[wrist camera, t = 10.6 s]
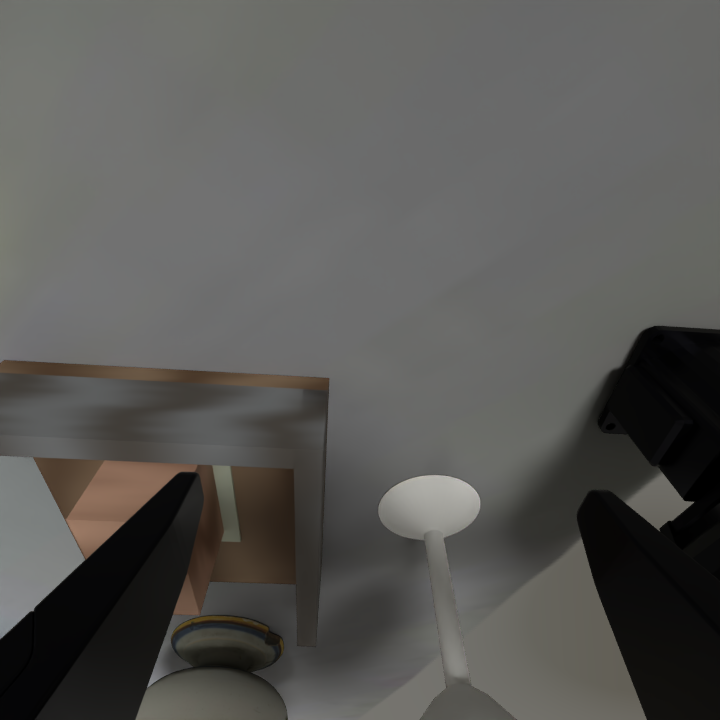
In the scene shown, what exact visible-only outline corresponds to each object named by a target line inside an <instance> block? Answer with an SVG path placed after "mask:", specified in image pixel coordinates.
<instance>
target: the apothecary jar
mask: <svg viewBox="0 0 720 720" xmlns="http://www.w3.org/2000/svg"><path fill="white" fill-rule="evenodd" d="M171 644H172V647H173V649H174V650H175V652H176V653H177V654H178V655H179V656H180V657H181V658H182V659H183V660H185V661H187V662H188V663H189V664H191V665H192V666H193V667H192V668H187V669H183V670H180V671H176V672H173V673H171V674H169V675H166V676H164V677H163V678H161V679H159V680H157V681H156V682H155V683H153V684H152V685H151V686H149V687H148V688H147V689H146V692H145V694H144V697H143V700H142V703H141V706H140V708H139V711H138V714H137V717H136V720H288V718H287V710H286V706H285V704H284V701H283V700H282V698H281V696H280V695H279V693H278V692H277V691H276V689H275V688H274V687H273V686H272V685H271V684H269V683H268V682H267V681H266V680H264V679H262V678H261V677H259V676H257V675H255V674H253V673H250V672H253V671H256V670H260V669H263V668H266V667H268V666H270V665H272V664H273V663H275V662H276V661H277V660H278V659H279V658H280V656H281V655H282V653H283V649H284V643H283V640H282V638H281V637H280V636H277V635H275V634H272V633H270V632H269V627H267V626H266V625H264V624H261V623H259V622H256V621H253V620H250V619H246V618H240V617H234V616H204V617H199V618H194V619H191V620H189V621H186V622H184V623H183V624H181V625H179V626H178V627H177V628H176V629H175V630H174V632H173V634H172V637H171Z"/></svg>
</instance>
